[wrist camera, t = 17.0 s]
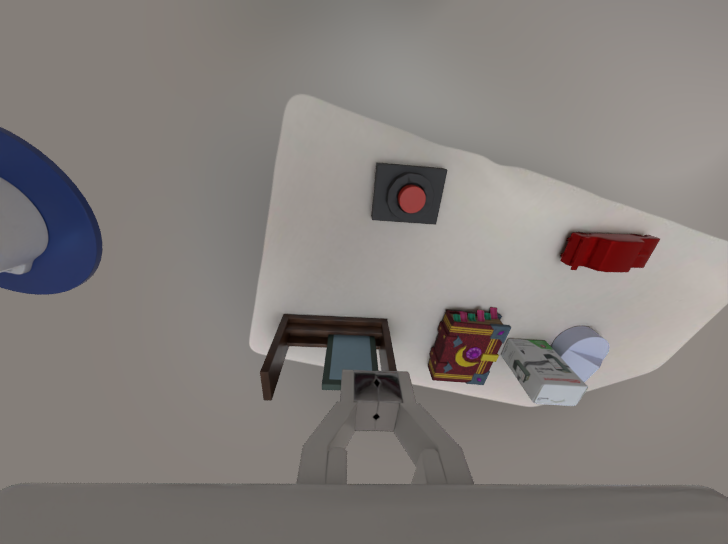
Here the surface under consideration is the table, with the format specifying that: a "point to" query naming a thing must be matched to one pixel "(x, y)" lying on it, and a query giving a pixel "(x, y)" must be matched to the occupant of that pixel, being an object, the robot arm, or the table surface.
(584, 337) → the wedge on round base
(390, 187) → the switch block
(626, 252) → the toy car
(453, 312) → the decorative book
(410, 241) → the table surface
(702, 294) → the table surface
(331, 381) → the window pane
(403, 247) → the table surface
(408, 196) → the red push button
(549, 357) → the ink box
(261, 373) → the window frame
